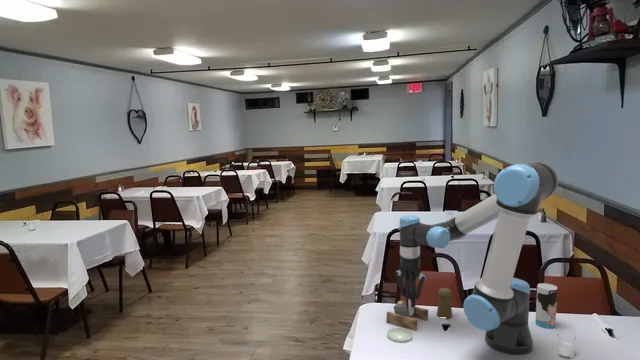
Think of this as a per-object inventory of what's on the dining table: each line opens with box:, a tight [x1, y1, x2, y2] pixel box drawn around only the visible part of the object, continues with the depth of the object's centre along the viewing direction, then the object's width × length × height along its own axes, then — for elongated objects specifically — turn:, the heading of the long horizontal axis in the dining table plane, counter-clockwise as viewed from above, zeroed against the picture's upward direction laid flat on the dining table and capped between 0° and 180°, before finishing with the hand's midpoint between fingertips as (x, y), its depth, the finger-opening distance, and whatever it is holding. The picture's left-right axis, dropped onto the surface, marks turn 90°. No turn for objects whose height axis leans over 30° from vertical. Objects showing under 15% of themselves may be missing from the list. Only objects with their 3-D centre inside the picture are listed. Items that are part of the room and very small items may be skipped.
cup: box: [534, 283, 558, 330], centre depth 160 cm, size 7×7×15 cm
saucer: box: [386, 327, 414, 344], centre depth 153 cm, size 9×9×1 cm
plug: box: [393, 300, 414, 318], centre depth 167 cm, size 5×5×7 cm
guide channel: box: [386, 305, 429, 332], centre depth 165 cm, size 12×12×4 cm
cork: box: [436, 287, 453, 320], centre depth 169 cm, size 6×6×11 cm
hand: (411, 314), depth 165 cm, fingers closed
